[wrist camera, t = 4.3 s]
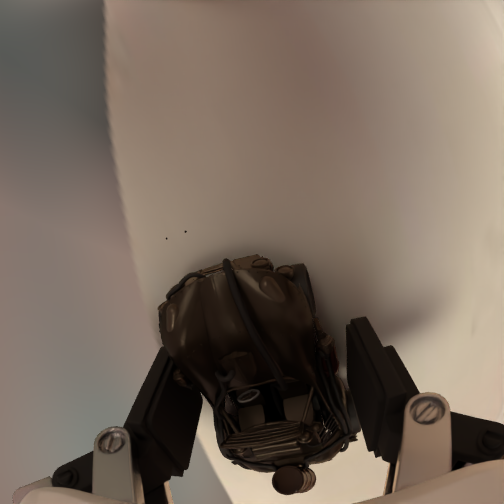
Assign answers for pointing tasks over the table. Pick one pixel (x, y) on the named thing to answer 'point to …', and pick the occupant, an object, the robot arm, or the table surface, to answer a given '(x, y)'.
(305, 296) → the toy car
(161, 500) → the robot arm
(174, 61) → the table surface
